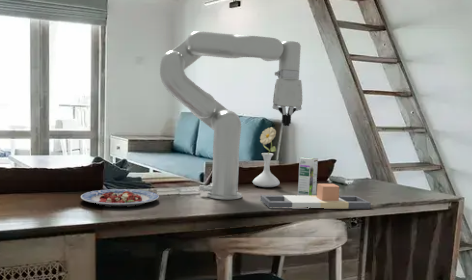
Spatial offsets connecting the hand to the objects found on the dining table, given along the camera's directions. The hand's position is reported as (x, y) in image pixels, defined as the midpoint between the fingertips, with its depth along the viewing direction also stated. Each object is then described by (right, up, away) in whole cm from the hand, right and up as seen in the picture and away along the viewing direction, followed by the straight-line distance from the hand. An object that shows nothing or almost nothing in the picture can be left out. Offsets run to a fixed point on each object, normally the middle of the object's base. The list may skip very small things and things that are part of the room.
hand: (286, 125), depth 195 cm
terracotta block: (+14, -26, -9) cm, 31 cm away
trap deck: (+9, -28, -9) cm, 31 cm away
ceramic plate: (-58, -27, -16) cm, 66 cm away
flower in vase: (-6, -25, +24) cm, 35 cm away
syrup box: (+9, -27, +9) cm, 30 cm away
